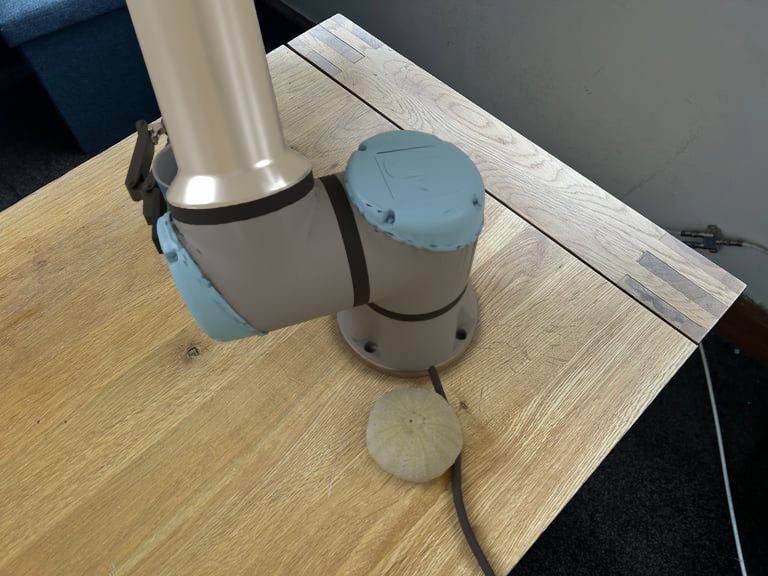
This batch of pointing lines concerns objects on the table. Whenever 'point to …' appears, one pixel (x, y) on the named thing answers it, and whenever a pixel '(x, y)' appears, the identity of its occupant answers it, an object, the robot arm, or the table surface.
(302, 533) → the table surface
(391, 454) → the sea urchin shell
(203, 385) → the table surface
